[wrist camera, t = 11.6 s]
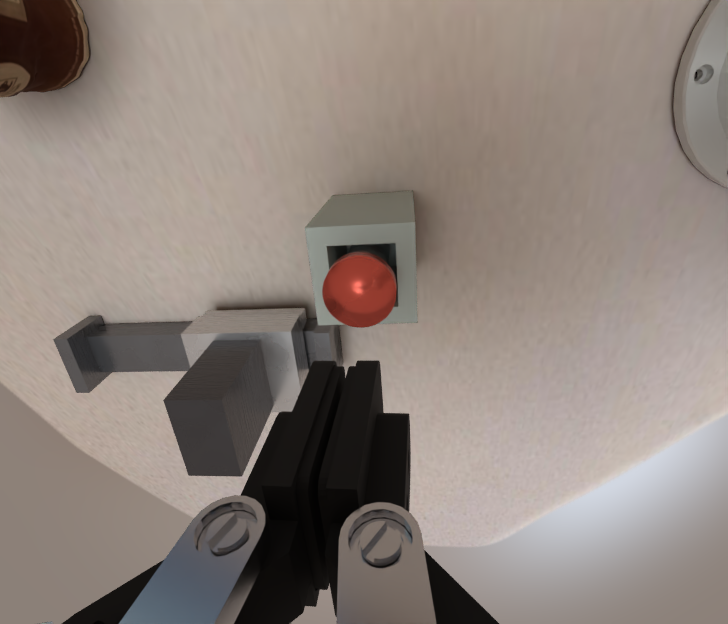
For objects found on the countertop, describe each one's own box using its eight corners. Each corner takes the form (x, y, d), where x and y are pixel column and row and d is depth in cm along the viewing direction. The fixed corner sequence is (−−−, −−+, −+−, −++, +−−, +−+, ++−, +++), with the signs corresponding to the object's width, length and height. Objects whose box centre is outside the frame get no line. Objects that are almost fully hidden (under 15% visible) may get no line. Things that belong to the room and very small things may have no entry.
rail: (337, 308, 30) (328, 333, 27) (343, 362, 32) (335, 390, 29) (88, 316, 32) (53, 339, 29) (107, 365, 34) (76, 392, 31)
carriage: (304, 305, 29) (259, 391, 20) (315, 378, 32) (279, 483, 23) (206, 308, 30) (122, 392, 21) (224, 379, 32) (156, 481, 24)
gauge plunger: (397, 217, 24) (394, 257, 18) (399, 271, 25) (397, 326, 19) (341, 220, 24) (317, 260, 18) (346, 274, 26) (326, 328, 19)
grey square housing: (413, 190, 26) (415, 222, 19) (414, 270, 28) (417, 326, 21) (332, 195, 27) (305, 227, 19) (340, 273, 29) (318, 328, 22)
